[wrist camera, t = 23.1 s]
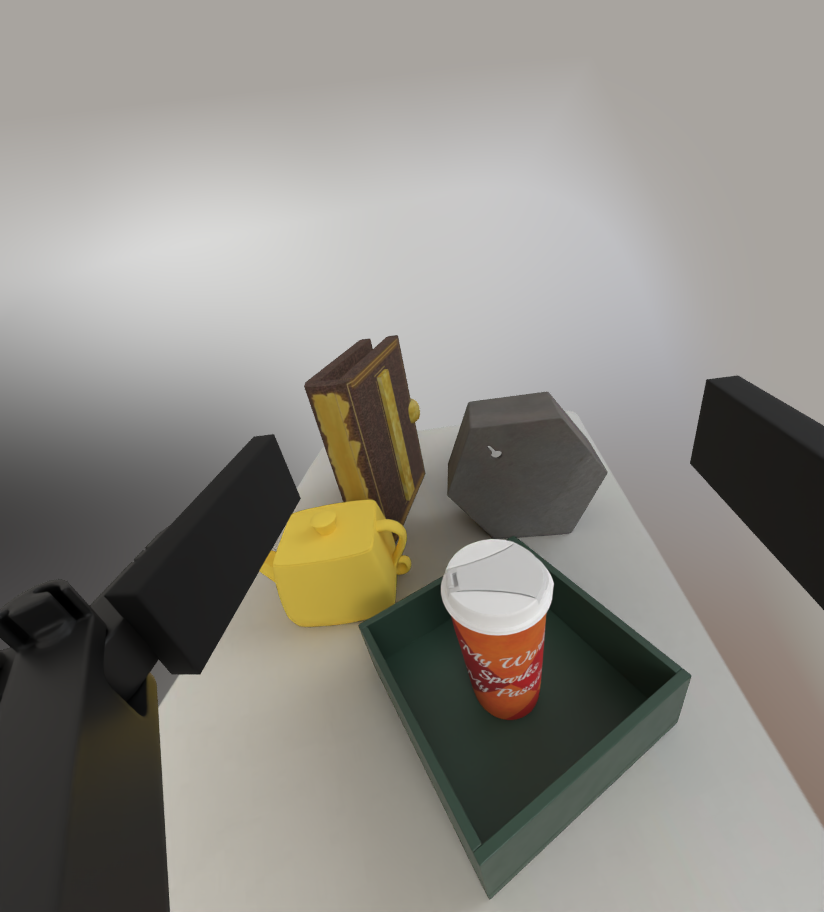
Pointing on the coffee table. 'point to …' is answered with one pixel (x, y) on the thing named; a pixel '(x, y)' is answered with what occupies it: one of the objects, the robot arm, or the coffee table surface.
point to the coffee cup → (500, 622)
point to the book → (370, 426)
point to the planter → (522, 467)
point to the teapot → (337, 563)
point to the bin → (524, 720)
